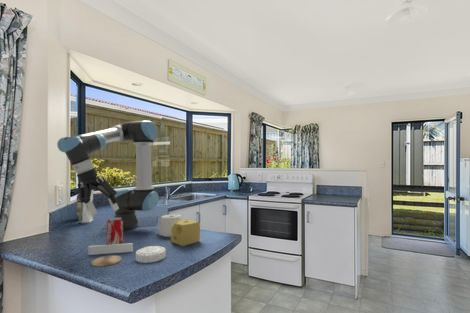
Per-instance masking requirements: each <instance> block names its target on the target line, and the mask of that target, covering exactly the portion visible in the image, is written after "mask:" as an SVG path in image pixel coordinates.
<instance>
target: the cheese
mask: <svg viewBox="0 0 470 313" xmlns="http://www.w3.org/2000/svg"><path fill="white" fill-rule="evenodd" d="M200 225H201V224H200V222H199V221H196V220H192V219H181V221H177V222H176V223H175V224H174V226H172V228H171V232H172V235H171V237H170V242H171V243H174V244H176V245H179V246H182V247H185V246H188V245H191V244H194V243H198V242H200V238H201V226H200Z"/></svg>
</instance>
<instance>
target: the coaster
mask: <svg viewBox="0 0 470 313" xmlns="http://www.w3.org/2000/svg"><path fill="white" fill-rule="evenodd" d="M121 261H122V256H120V255H114V254H113V255H105V256H99V257H97V258H95V259H93V260H92V261H91V266H93V267H100V268H101V267H108V266H112V265H116V264H119V263H120V262H121Z"/></svg>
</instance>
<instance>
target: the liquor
mask: <svg viewBox="0 0 470 313" xmlns="http://www.w3.org/2000/svg"><path fill="white" fill-rule="evenodd" d="M92 202H93V203H94V199H93V200H92ZM79 207H81V218H82V213H83V203H81V202H80V193H78V194H77V196H76V219H77V220H79Z"/></svg>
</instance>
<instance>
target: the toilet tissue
mask: <svg viewBox="0 0 470 313" xmlns="http://www.w3.org/2000/svg"><path fill="white" fill-rule="evenodd" d="M181 220H182V215H181V214H177V213H172V214H171V213H170V214H164V215H162V216H159V215H158V234H159V235H161V236H162V237H165V238H166V237H169V238H171V235H172V232H171V228H172V226H174V224H175V223H176V222H177V221H181Z"/></svg>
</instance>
